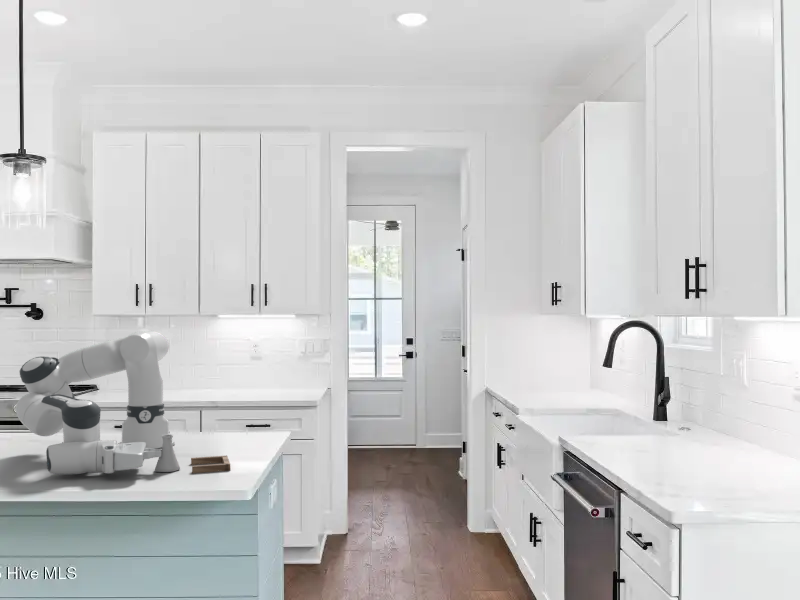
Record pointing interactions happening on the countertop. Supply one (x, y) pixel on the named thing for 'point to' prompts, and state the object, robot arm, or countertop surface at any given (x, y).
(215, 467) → the dock
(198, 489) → the countertop surface
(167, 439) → the flask
